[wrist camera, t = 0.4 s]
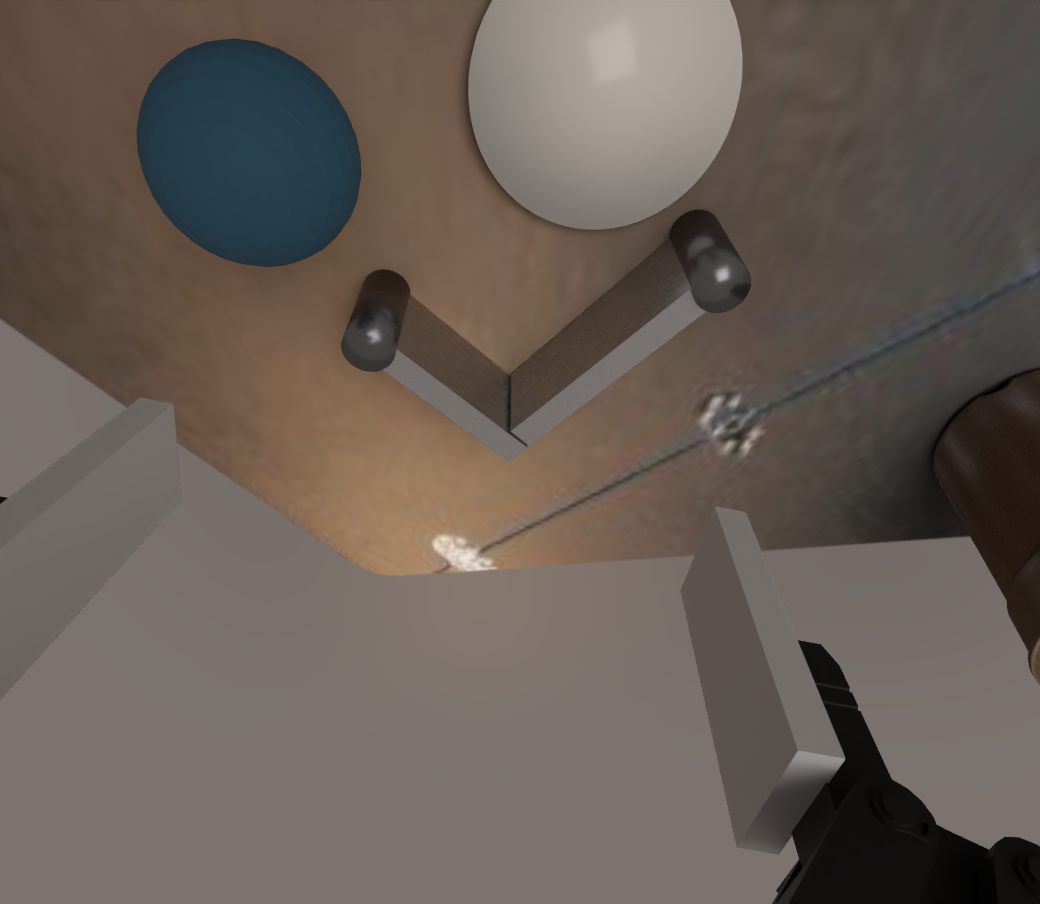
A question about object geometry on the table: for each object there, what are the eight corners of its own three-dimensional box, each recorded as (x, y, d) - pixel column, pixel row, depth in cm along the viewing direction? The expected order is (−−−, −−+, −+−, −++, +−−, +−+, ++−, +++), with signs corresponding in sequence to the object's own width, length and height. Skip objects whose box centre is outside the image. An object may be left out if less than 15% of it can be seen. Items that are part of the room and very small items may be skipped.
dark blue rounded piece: (280, 218, 36) (202, 330, 27) (176, 55, 31) (37, 126, 22) (416, 159, 34) (381, 259, 25) (329, -25, 29) (245, 17, 20)
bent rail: (575, 45, 31) (585, 75, 26) (729, 234, 37) (762, 287, 32) (353, 291, 39) (330, 349, 34) (509, 413, 45) (509, 476, 40)
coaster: (619, -165, 26) (622, -166, 25) (788, 91, 32) (795, 96, 31) (414, 93, 32) (411, 98, 31) (589, 268, 38) (591, 275, 37)
